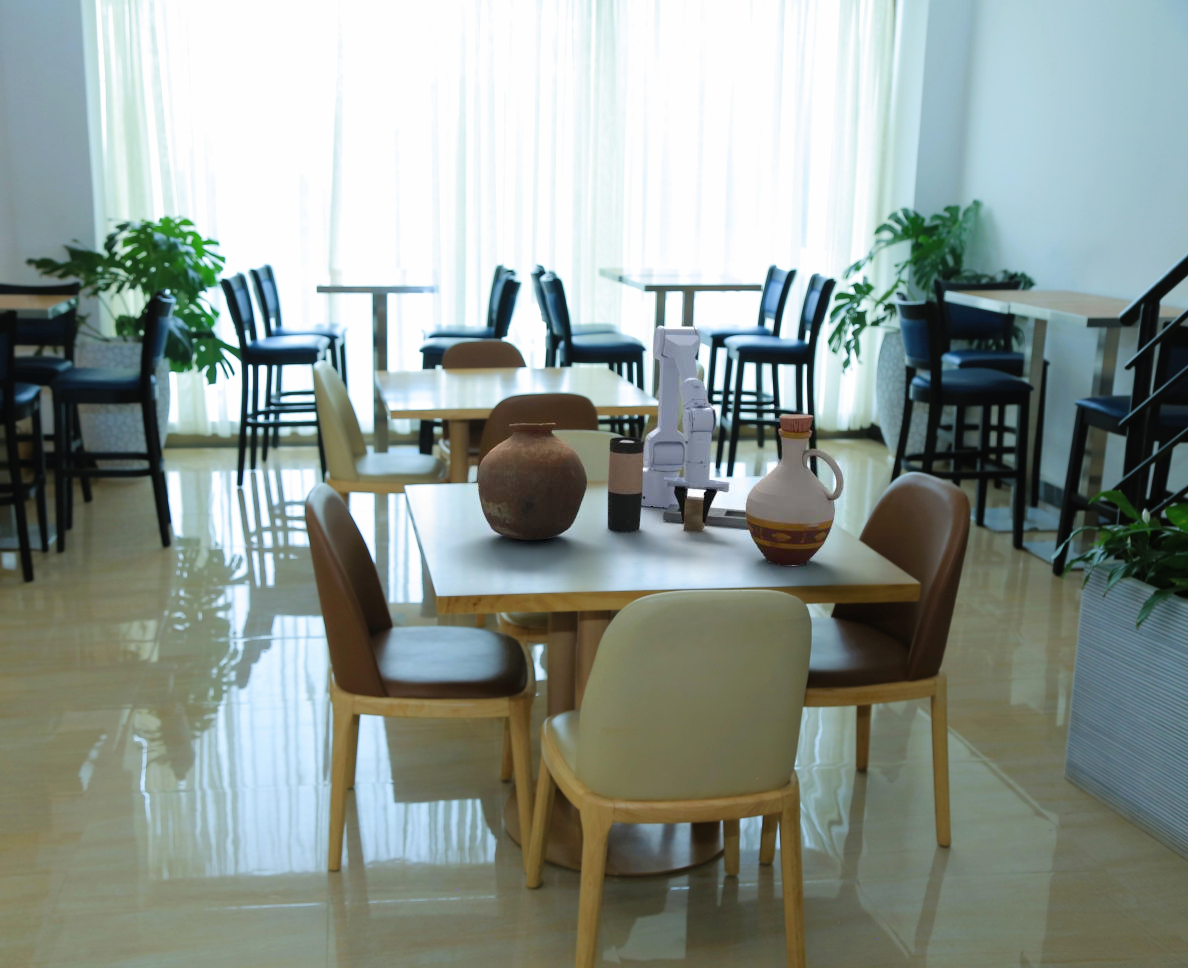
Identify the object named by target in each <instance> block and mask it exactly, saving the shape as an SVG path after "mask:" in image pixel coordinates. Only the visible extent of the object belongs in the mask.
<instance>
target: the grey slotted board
mask: <svg viewBox="0 0 1188 968" xmlns="http://www.w3.org/2000/svg"><path fill="white" fill-rule="evenodd" d="M662 515H663V516H662V518H663V519H662V521H663V520H665V521H664V522H672V521H676V522H675V523H684V521H682V517H681V511H680V507H679V505H675V504H670V505H669V506H668V507H667V508H665V510H664V511H663V514H662ZM704 525H708V526H720V527H733V528H741V529H742V528H745V529H749V528H748V523H747V518H746V509H736V508H735V509H732V508H721V507H712V506H711V507H710V509H709V512H708V516H707V521H706V523H704Z"/></svg>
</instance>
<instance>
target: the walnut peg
mask: <svg viewBox="0 0 1188 968" xmlns="http://www.w3.org/2000/svg"><path fill="white" fill-rule="evenodd" d="M703 510H704V496H702V497H701V496H692V495H691V496H688V495H687V498H686V499H685V512H684V522H683V531H684V532H696V533H702V532H703V530H704V529H705V524H704V523H703Z"/></svg>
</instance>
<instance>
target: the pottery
mask: <svg viewBox="0 0 1188 968" xmlns="http://www.w3.org/2000/svg"><path fill="white" fill-rule="evenodd" d="M556 425H557V424H556V422H549V423H514V424H509V425H508V426H509V429H510V430H511V431H512V434H511V435H510V436H509V437H508V438H507V439H505V440H503V441H502V442H500V443H498V444H497V445H496V446H495V447H493V448H492V449H491V450H489V452H487V454H486V455H485V456H484V457H483V459H482V460H481V461H480V465H479V466H478V473H477V485H478V486H477V487H478V490H477V491H478V497H479V502H480V507H481V510H482V513H483V516H484V518H485V520H486V522H487V523H488V525H489V527H490V529H491V530H493V532H494V533H497V534H498V535H501V536H504V537H505V538H510V539H516V540H523V541H538V540H541V541H542V540H547V539H550V538H554V537H557V536H559V535H562V534H563V533H565V532H567V531H568V530H569V529H570V528H571V527H572V526H573V524H574V522H575V520H576V518H577V516H578V514H579V511H580V509H581V506H582V503H583V500H584V496H585V494H586V492H587V488H588V487H587V486H588V477H587V473H586V470H585V467H584V464H583V462H582V460H581V458H580V456H579V455H578V454H577V452H576V451H575V450H574V448H572V447H571V446H570V445H569V444H568V443H567V442H565V441H564V440H562V439H561V438H560V437H557V436H556V435H555V434H554V433H553V429H554V428H555V427H556Z"/></svg>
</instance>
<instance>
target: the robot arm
mask: <svg viewBox="0 0 1188 968" xmlns="http://www.w3.org/2000/svg"><path fill="white" fill-rule="evenodd" d="M700 332H701V331H700V330H699V329H698V327H697V326H696V325H693V326H677V325H676V326H675V325H674V326H673V325H672V326H671V325H670V326H669V325H667V326H666V325H665V326H663V325H658V326H657V327H656V328H655V330H654V332H653V333H654V334H653V340H652V341H653V344H652V345H653V346H652V347H653V348H652V355H653V358H654V359H656V360H658V362H659V380H658V381H659V382H658V401H657V402H658V403H657V404H658V405H657V406H658V407H657V408H658V409H657V426H656V427H655V428H654V429H653V430H652V431H650V432H649V433H647V434H646V436H645V438H644V439H645V441H644V454H643V464H644V465H645V466H646V467H644V466H643V486H642V503H641V505H642V506H641V507H651V506H653V507H654V508H663V507H664V509H667V507H668V506H669V505H670V504H675V505H679V507H680V511H681V517H682V521H684V512H685V499H686V498H687V497H688V493H689V489H690V490H702V491H704V492H703V498H704V510H703V523H706V521H707V516H708V512H709V509H710V507H711V508H712V504H713V502H714V500H715V497H716V495H717V493H718V492H723V493H729V492H730V482H727V481H720V480H713V479H710V474H711V456H712V455H711V454H712V453H711V452H712V437H713V433H714V434H715V432H716V428H717V423H718V421H717V420H718V419H717V411H716V409H715V407H714V406H713V405H712V403H709V399H708V398H709V397H708V395H707V390H706V387H705V383H704V382H703V381H702V380H701V379H699V375H698V370H697V361H696V356H697V354H698V351H699V348H700V347H701V333H700ZM680 380H681V384H680ZM679 394H680V397H679ZM679 398H680V399H681V404H682V408H683V415H682V430H683V433H682V432H681V431H679V430H678V419H679V418H678V416H679ZM682 469H683V477H680V471H682ZM653 507H652V508H653Z"/></svg>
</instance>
